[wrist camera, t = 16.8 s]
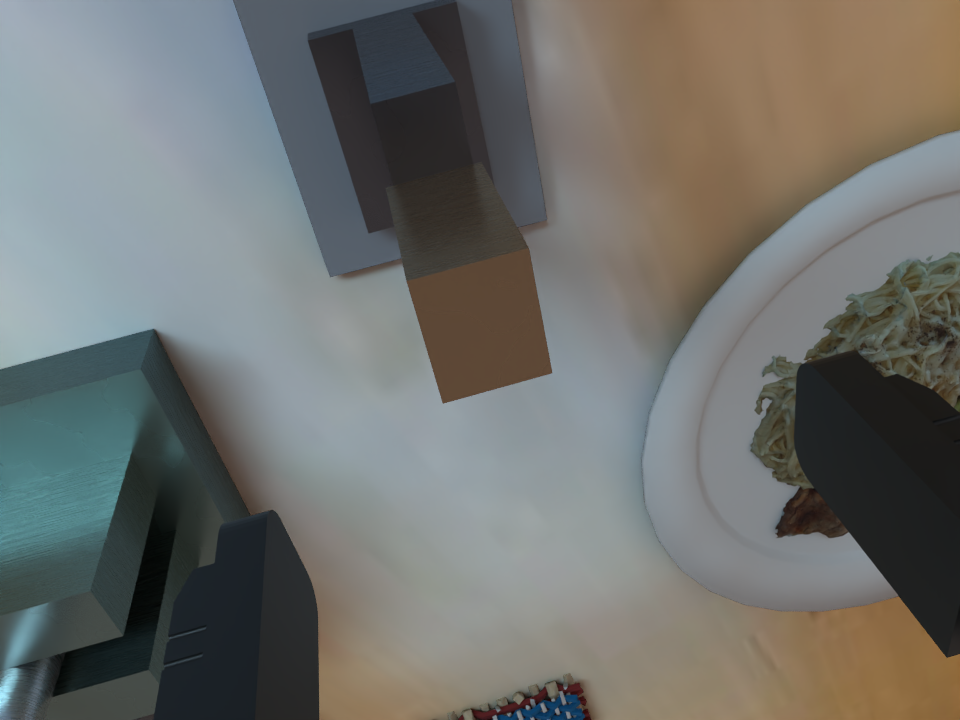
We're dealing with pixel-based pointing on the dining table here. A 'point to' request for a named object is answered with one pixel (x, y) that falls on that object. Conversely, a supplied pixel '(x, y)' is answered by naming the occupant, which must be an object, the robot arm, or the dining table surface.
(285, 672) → the robot arm
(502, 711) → the woven mat
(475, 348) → the brown and black post
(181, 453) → the vise
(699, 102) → the dining table surface
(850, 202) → the plated food
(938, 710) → the dining table surface
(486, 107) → the slate pad
